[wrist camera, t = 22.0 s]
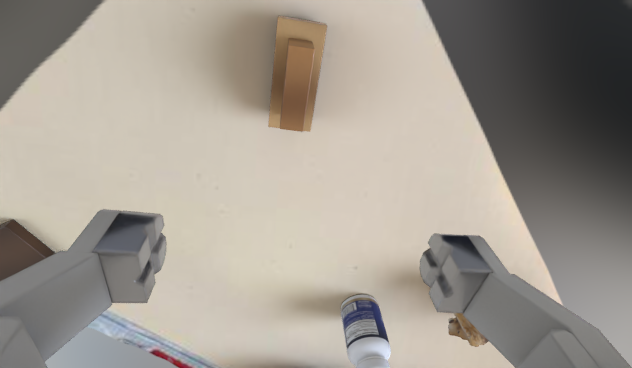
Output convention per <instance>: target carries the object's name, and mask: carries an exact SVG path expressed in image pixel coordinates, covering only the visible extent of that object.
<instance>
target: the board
mask: <svg viewBox="0 0 632 368" xmlns="http://www.w3.org/2000/svg"><path fill="white" fill-rule="evenodd" d="M53 254H55V253H54V252H53V251H52V250H51V249H49V248H48V247H47V246H46V245H44V244H43V243H42V242H41V241H39V240H38V239H37V238H36V237H34V236H33V235H32V234H31V233H29V232H28V231H27V230H26V229H25V228H23V227H22V226H21V225H20V224H18V223H17V222H16V221H15V220H10V221H8V222H6V223H4V224H1V225H0V281H2V280H4V279H6V278H8V277H10V276H12V275H14V274H16V273H18V272H20V271H22V270H24V269H26V268H28V267H30V266H32V265H34V264H36V263H38V262H40V261H42V260H44V259H46V258H48V257H50V256H52V255H53Z"/></svg>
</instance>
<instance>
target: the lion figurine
mask: <svg viewBox="0 0 632 368" xmlns="http://www.w3.org/2000/svg"><path fill="white" fill-rule="evenodd" d="M454 315H455V316H456V318H450V319H449V326H448V328H449V334H450V335H454V336H458V337H461V338H462V339H464V340H468V341H469V343H470V345H471V346H474V347H478V346H479V345H484V344H486V343H487V342H488V340H487V339H486V338H485V337H484V336H483V335H482V334H481V333H480V332H479V331H478V330H477V329H476V328H475V327H474V326H473V325H472V324H471V323H470V322H469V321H468V320H467V319H466V318H465V317H464V316H463V313H454Z"/></svg>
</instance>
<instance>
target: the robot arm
mask: <svg viewBox="0 0 632 368" xmlns="http://www.w3.org/2000/svg"><path fill="white" fill-rule="evenodd" d="M163 227H164V220H163V216H162V215H161V214H154V213H143V212H132V211H118V210H107V209H103V210H100V211H98V212H97V214H96V215H95V216H94V217H93V219H92V220H91V221H90V222H89V224H88V225H87V226H86V228H85V229H84V230H83V231H82V233H81V234H80V235H79V237H78V238H77V239H76V240H75V242H74V243H73V244H72V245H71V247H70V248H69V249H68V251H59V252H57V253H55V254H53V255H52V256H50V257H48V258H46V259H44V260H42V261H40V262H38V263H36V264H34V265H32V266H30V267H28V268H26V269H24V270H22V271H20V272H18V273H16V274H14V275H12V276H10V277H8V278H6V279H4V280H2V281H0V368H47V366H46V364H45V361H46V360H47V359H49V358H50V357H51V356H52V355H53V354H54V353H56V352H57V351H58V350H59V349H60V348H62V347H63V346H64V345H65V344H66V343H67V342H68V341H70V340H71V339H72V338H73V337H75V336H76V335H77V334H78V333H79V332H80V331H81V330H83V329H84V328H85V327H86V326H88V325H89V324H90V323H91V322H92V321H94V320H95V319H96V318H97V317H98V316H99V315H101V314H102V313H103V312H104V311H105V310H107V309H108V308H109V307H110V306H111V305H112V303H147V302H148V299H149V297H150V295H151V292H152V290H153V287H154V285H155V276H154V274H156V273H157V272H159V271H160V270H161V268H162V266H163V263H164V260H165V255H166V237H165V236H164V235H163V234H162V233H161V231H162V229H163ZM428 244H429V246H430V248H429V249H428V250H426V251H425V252H424V253H423V255H422V257H421V259H420V273H421V277H422V279H423V281H424V283H426V284H427V285H428V286H429V287H430V288H431V289H430V292H429V295H430V297H431V299H432V302H433V304H434V306H435V308H436V310H437V312H446V313H463V316H464V317H465V318H466V319H467V320H468V321H469V322H470V323H471V324H472V325H473V326H474V327H475V328H476V329H477V330H478V331H479V332H480V333H481V334H482V335H483V336H484V337H485V338H486V339H487V340H488V341H489V342H490V343H491V344H492V345H493V346H494V347H495V348H496V349H497V350H498V351H499V352H500V353H501V354H502V355H503V356H504V357H505V358H506V359H507V360H508V361H509V362H510V363H511V364H512V365H513V366H514V367H515V368H632V367H631V366H630V365H629V364H628V363H627V362H626V360H625V359H624V358H623V357H622V356H621V355H620V353H619V352H618V351H617V350H616V349H615V348H614V347H613V346H612V344H611V343H610V342H609V341H608V340H607V339H606V337H605V336H604V335H603V334H602V333H601V332H600V331H599V329H597V328H596V327H594V326H593V325H591V324H590V323H588V322H586V321H585V320H583V319H582V318H580V317H579V316H577V315H576V314H574V313H572V312H571V311H570V310H568V309H566V308H565V307H564V306H562V305H561V304H559V303H557V302H556V301H554V300H553V299H551V298H550V297H548V296H547V295H545V294H544V293H542V292H541V291H539V290H538V289H536V288H535V287H533V286H532V285H530V284H528V283H527V282H525V281H524V280H522V279H521V278H519V277H518V276H516V275H515V274H510V273H509V272H508V271H507V269H506V268H505V267H504V265H503V264H502V263H501V261H500V260H499V259H498V257H497V256H496V255H495V253H494V252H493V251H492V249H491V248H490V247H489V245H488V244H487V243H486V241H485V240H484V239H483V238H482V237H480V236H476V235H452V234H436V233H434V234H433V235H432V236H431V237H430V239H429V242H428Z"/></svg>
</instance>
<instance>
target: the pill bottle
mask: <svg viewBox="0 0 632 368" xmlns="http://www.w3.org/2000/svg"><path fill="white" fill-rule="evenodd" d="M341 317H342V323H343V329H344V335H345V341H346V347H347V354H348V358H349V360H350V362H351V363H352V364H353V365H355V366H356V368H390V366H389V363H388V361H387V360H388V358H389V356H390V353H391V350H390V345H389V341H388V338H387V334H386V330H385V327H384V323H383V320H382V316H381V312H380V309H379V306H378V303H377V301H376V300H375V299H374V298H373V297H371V296H369V295H355V296H352V297H350V298H348V299H346V300H345V301H344V302H343V304H342V305H341Z"/></svg>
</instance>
